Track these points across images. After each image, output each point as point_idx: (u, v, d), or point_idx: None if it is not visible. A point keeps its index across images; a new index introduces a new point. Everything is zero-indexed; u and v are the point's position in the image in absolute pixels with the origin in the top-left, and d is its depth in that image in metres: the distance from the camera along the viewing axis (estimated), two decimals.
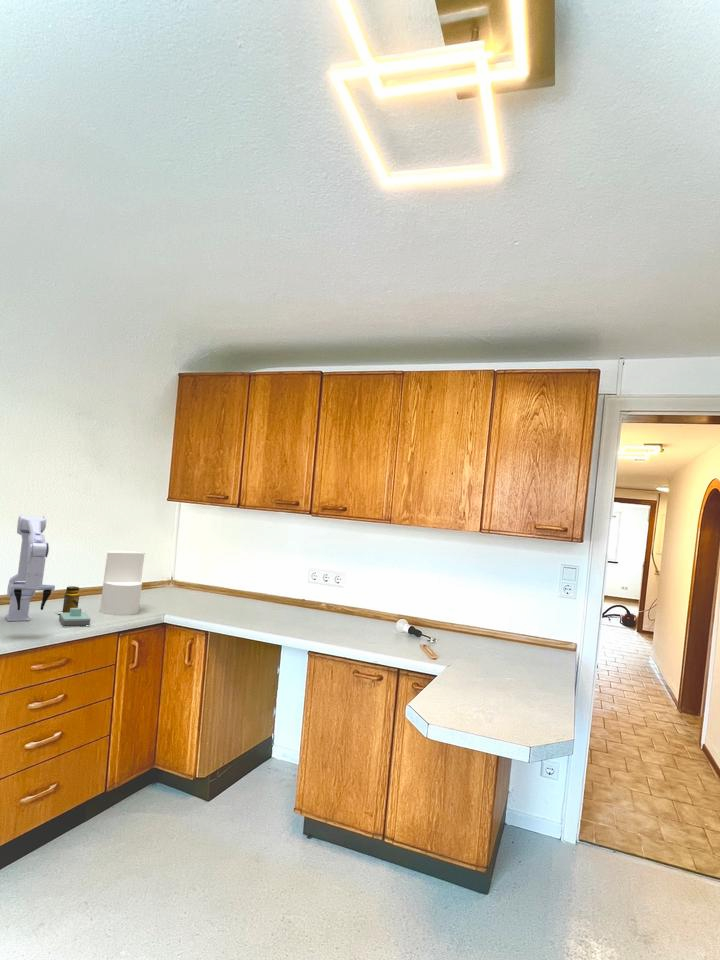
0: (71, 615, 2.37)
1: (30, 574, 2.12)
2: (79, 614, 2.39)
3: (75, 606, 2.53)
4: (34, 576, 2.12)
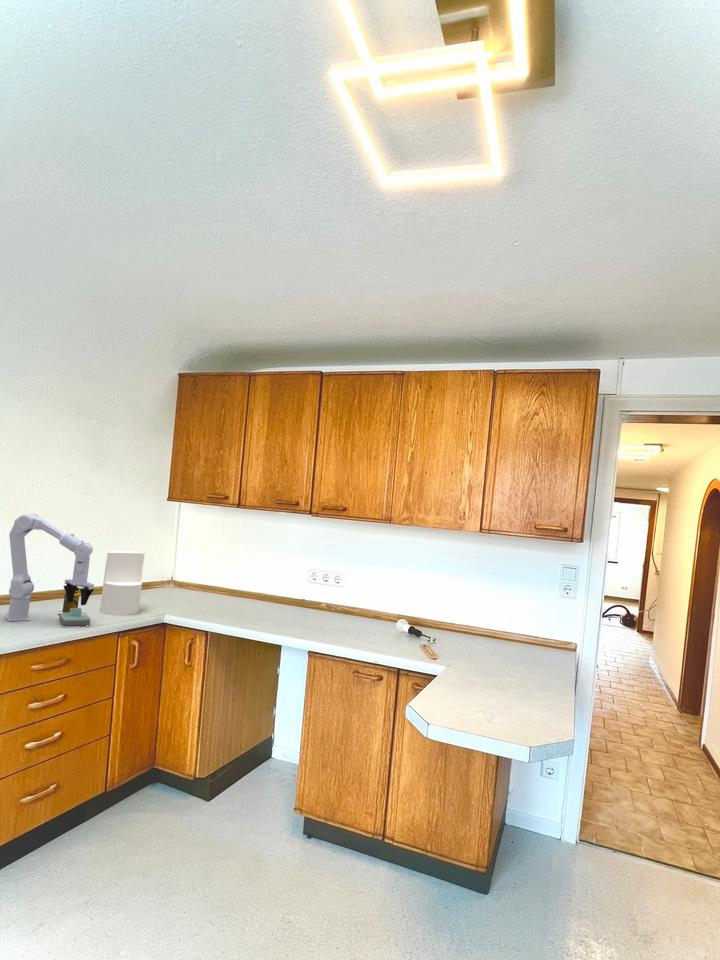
0: (71, 615, 2.37)
1: (73, 571, 2.38)
2: (79, 614, 2.39)
3: (75, 606, 2.53)
4: (74, 573, 2.37)
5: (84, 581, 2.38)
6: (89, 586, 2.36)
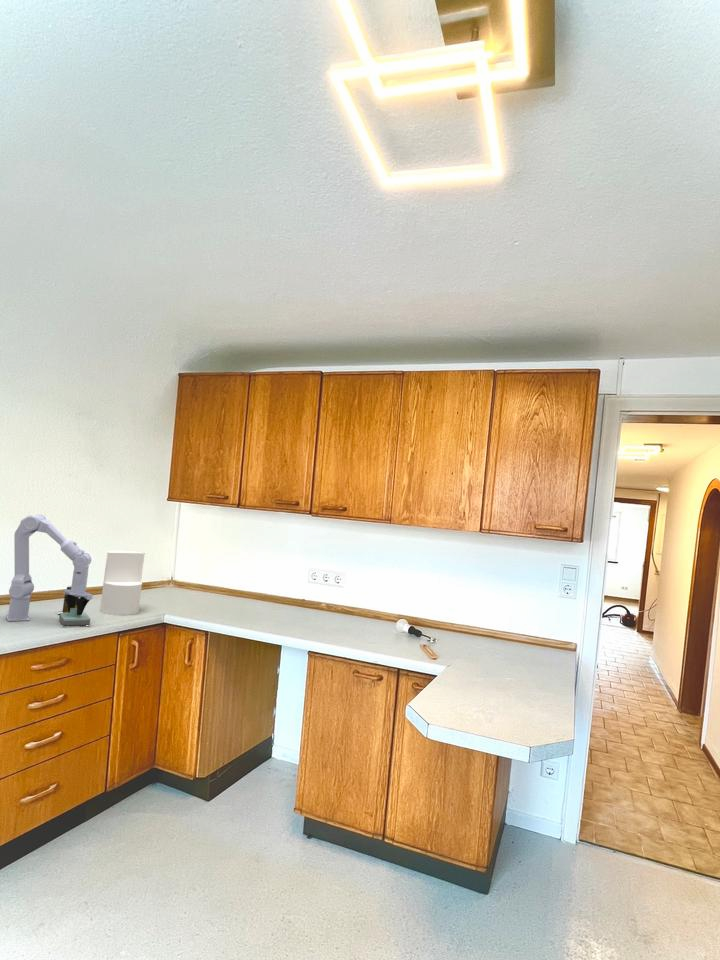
0: (71, 615, 2.37)
1: (72, 581, 2.38)
2: None
3: (75, 606, 2.53)
4: (73, 583, 2.37)
5: (83, 591, 2.38)
6: (88, 596, 2.36)
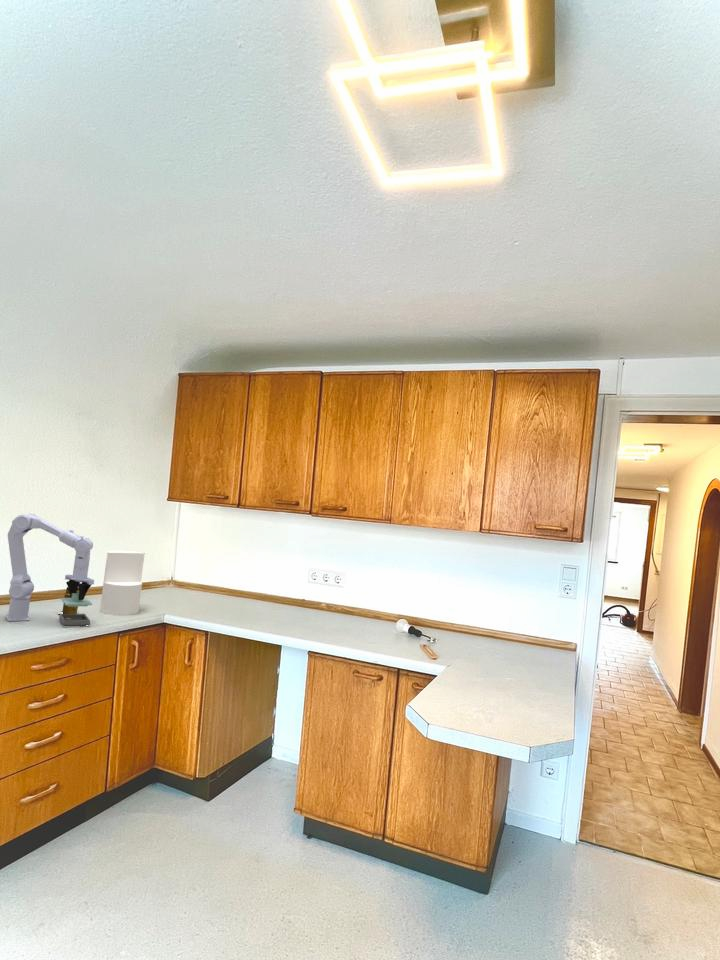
0: (73, 600, 2.37)
1: None
2: None
3: (75, 606, 2.53)
4: (75, 568, 2.37)
5: (84, 576, 2.38)
6: (89, 581, 2.36)
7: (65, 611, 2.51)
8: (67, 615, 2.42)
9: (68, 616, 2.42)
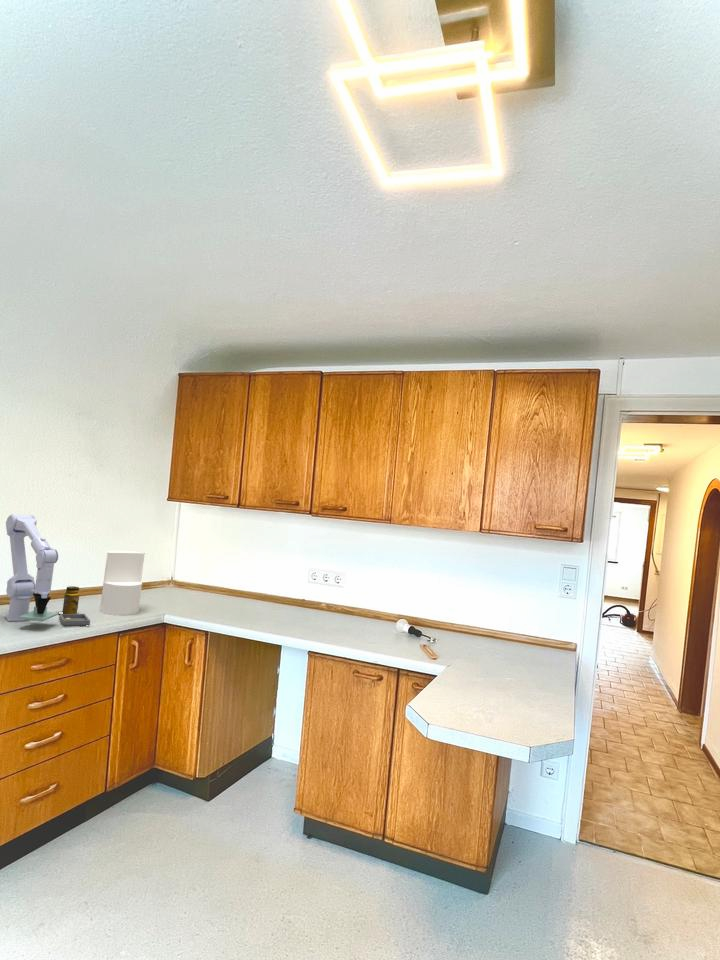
0: (34, 613, 2.26)
1: None
2: None
3: (75, 606, 2.53)
4: (36, 580, 2.27)
5: (43, 589, 2.26)
6: (41, 595, 2.22)
7: (65, 611, 2.51)
8: (67, 615, 2.42)
9: (68, 616, 2.42)
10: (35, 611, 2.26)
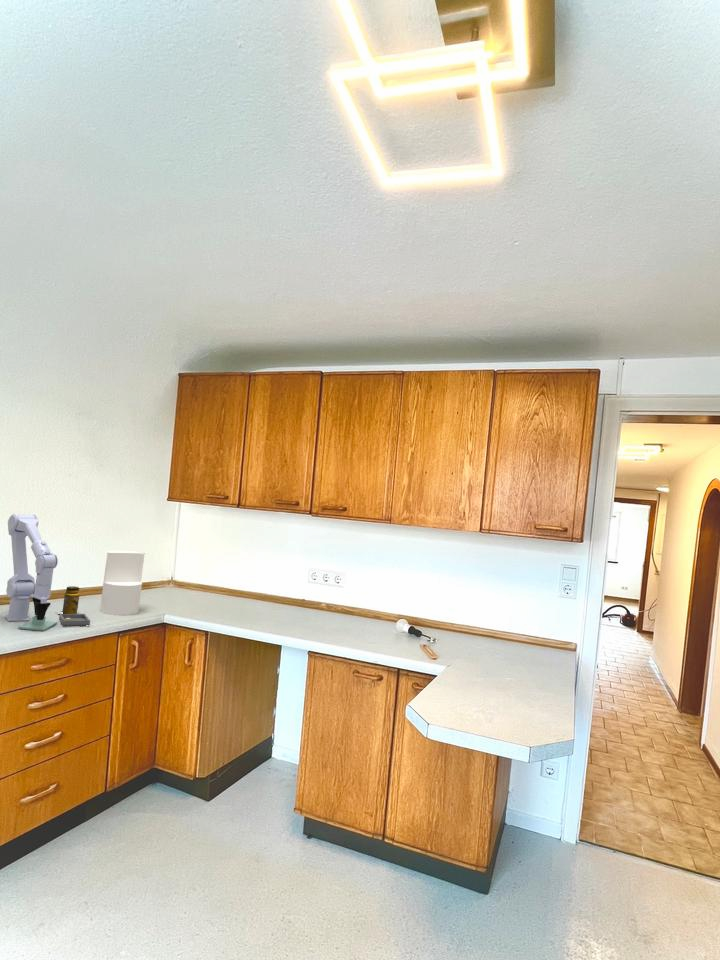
0: (32, 623, 2.26)
1: None
2: (40, 623, 2.26)
3: (75, 606, 2.53)
4: (35, 585, 2.27)
5: (42, 594, 2.26)
6: (41, 600, 2.22)
7: (65, 611, 2.51)
8: (67, 615, 2.42)
9: (68, 616, 2.42)
10: (34, 621, 2.26)
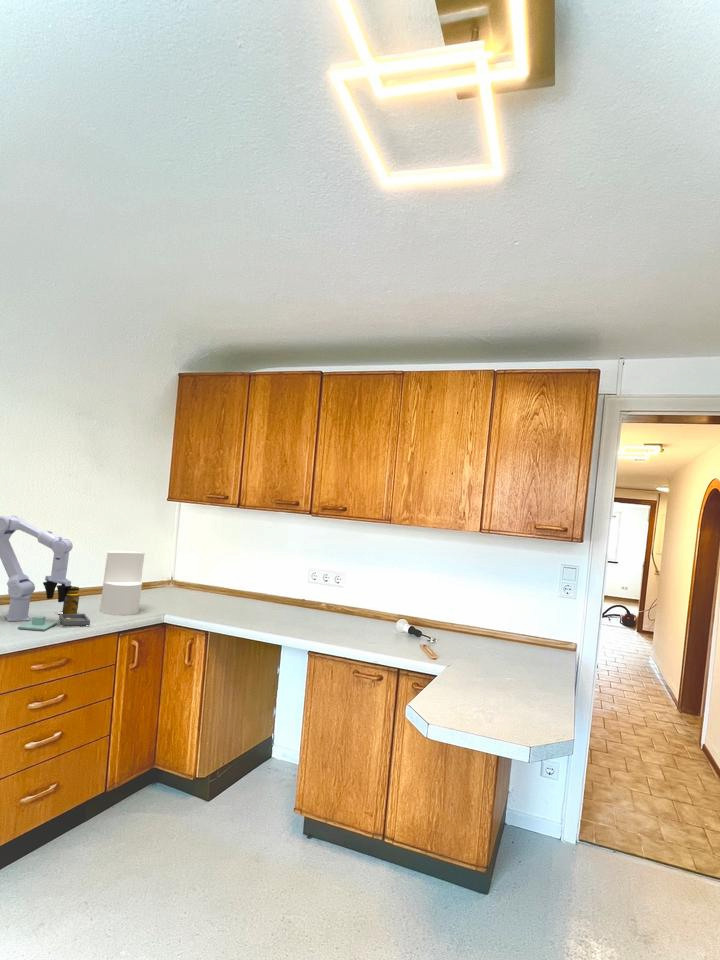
0: (32, 623, 2.26)
1: (52, 567, 2.35)
2: (40, 623, 2.26)
3: (75, 606, 2.53)
4: (52, 569, 2.34)
5: (62, 578, 2.35)
6: (66, 583, 2.32)
7: (65, 611, 2.51)
8: (67, 615, 2.42)
9: (68, 616, 2.42)
10: (34, 621, 2.26)
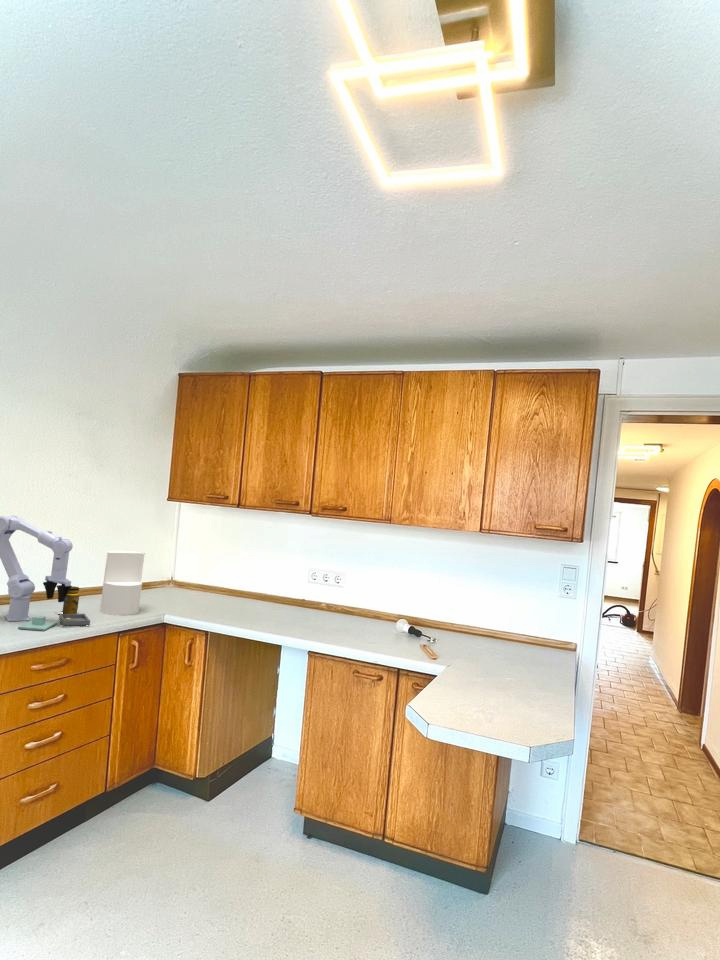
0: (32, 623, 2.26)
1: (52, 567, 2.35)
2: (40, 623, 2.26)
3: (75, 606, 2.53)
4: (52, 569, 2.34)
5: (62, 578, 2.35)
6: (66, 583, 2.32)
7: (65, 611, 2.51)
8: (67, 615, 2.42)
9: (68, 616, 2.42)
10: (34, 621, 2.26)
